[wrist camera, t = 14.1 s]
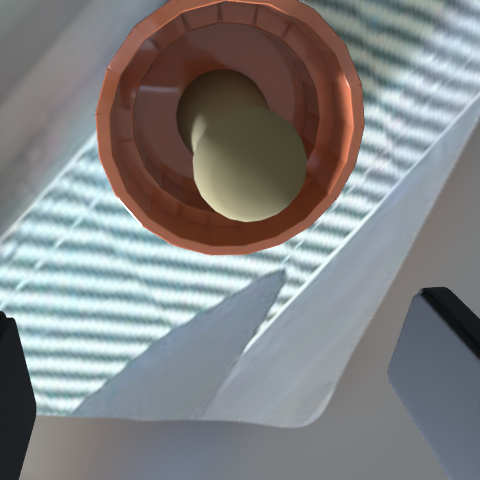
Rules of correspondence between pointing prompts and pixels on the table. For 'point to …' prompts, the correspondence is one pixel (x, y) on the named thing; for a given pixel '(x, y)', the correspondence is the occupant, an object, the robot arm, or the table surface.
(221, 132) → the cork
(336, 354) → the table surface
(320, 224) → the table surface
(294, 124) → the basin
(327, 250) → the table surface
